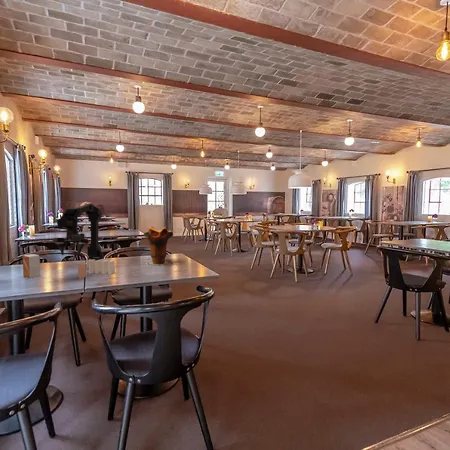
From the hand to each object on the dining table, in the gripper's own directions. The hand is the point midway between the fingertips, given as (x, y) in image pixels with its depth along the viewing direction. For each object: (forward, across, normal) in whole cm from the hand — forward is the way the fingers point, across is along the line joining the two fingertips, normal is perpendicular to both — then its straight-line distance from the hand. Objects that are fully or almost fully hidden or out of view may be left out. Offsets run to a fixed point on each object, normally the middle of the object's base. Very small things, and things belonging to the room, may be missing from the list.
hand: (70, 255), depth 188 cm
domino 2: (+11, +17, +5) cm, 21 cm away
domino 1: (+13, +6, -3) cm, 15 cm away
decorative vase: (+6, +62, -4) cm, 63 cm away
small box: (+14, -12, +24) cm, 30 cm away
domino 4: (+11, +21, -3) cm, 24 cm away
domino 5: (+11, +23, -7) cm, 27 cm away
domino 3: (+11, +19, +1) cm, 22 cm away
